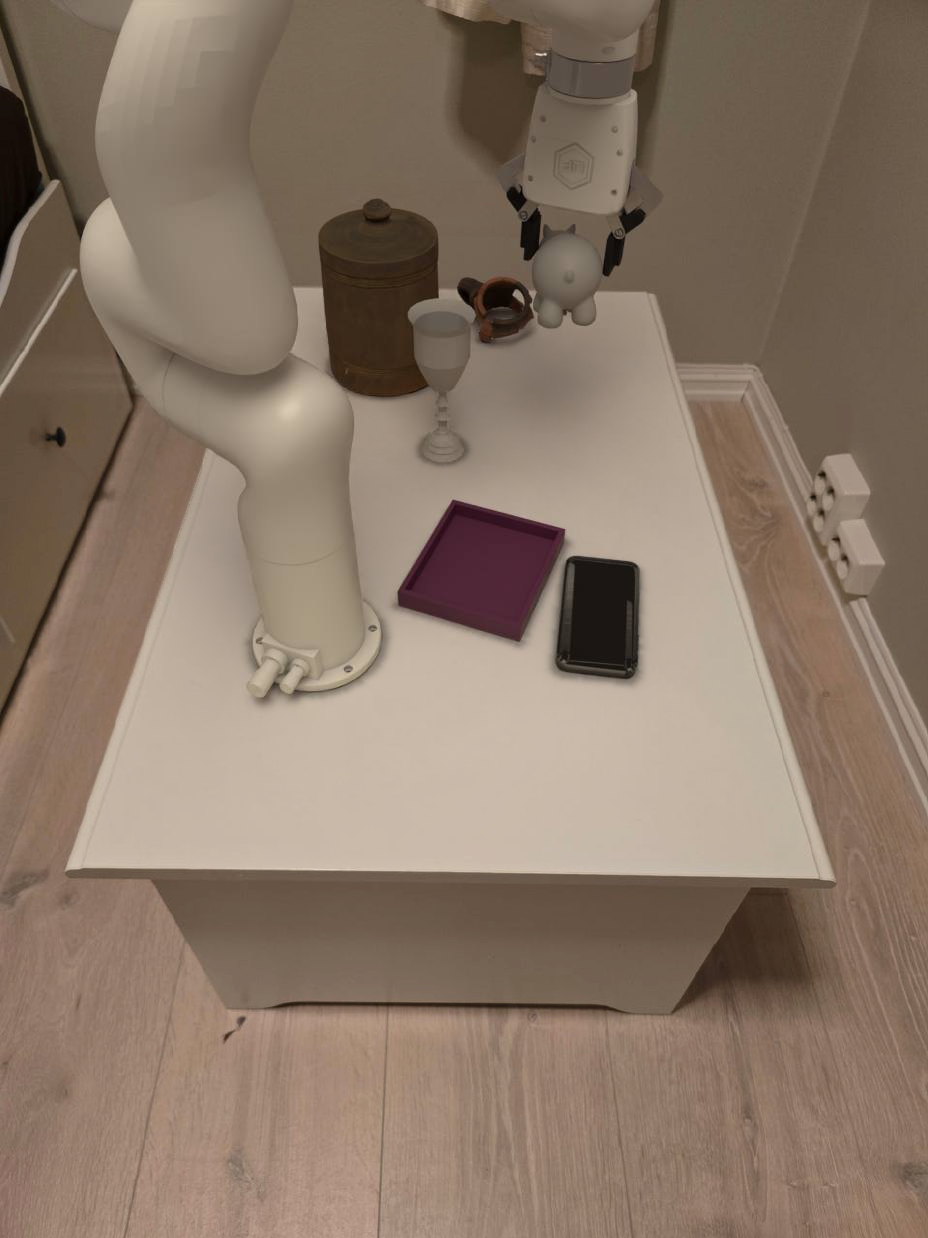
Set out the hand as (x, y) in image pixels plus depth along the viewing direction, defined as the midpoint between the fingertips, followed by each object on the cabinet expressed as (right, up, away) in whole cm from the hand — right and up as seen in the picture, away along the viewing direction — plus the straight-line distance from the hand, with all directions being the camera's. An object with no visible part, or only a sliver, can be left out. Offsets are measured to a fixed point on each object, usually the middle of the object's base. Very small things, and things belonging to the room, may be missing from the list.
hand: (569, 261), depth 93 cm
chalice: (-14, -17, +16) cm, 27 cm away
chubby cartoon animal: (-1, -3, +4) cm, 5 cm away
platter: (-9, -32, +2) cm, 34 cm away
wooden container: (-22, -3, +28) cm, 36 cm away
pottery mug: (-7, +5, +35) cm, 36 cm away
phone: (+3, -37, -2) cm, 37 cm away
